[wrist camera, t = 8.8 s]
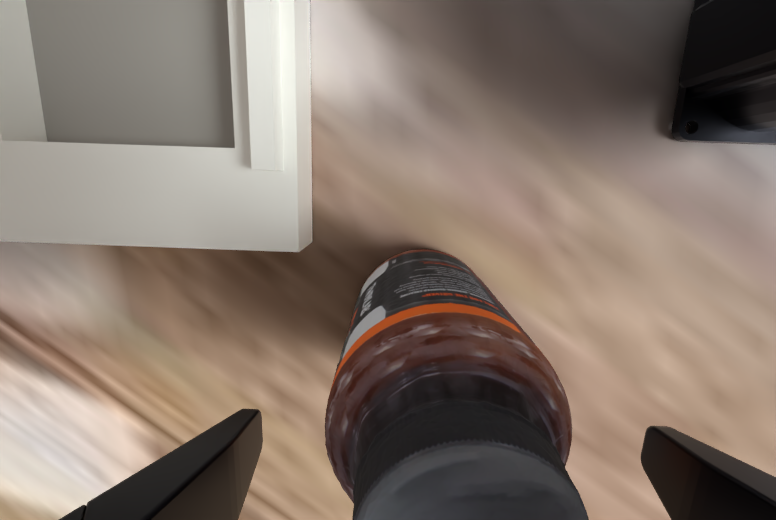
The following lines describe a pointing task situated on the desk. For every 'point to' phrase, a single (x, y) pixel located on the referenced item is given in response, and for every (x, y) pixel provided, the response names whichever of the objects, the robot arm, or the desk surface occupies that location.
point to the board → (156, 123)
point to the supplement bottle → (446, 403)
